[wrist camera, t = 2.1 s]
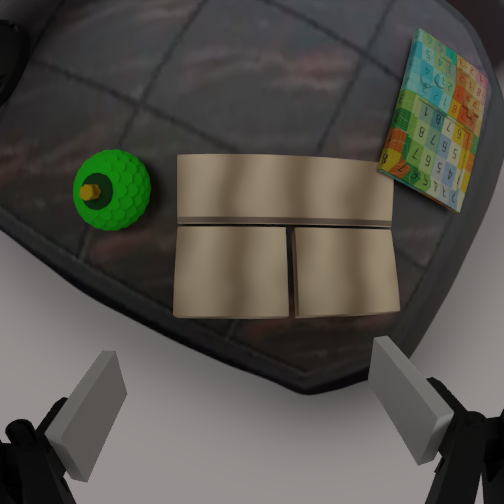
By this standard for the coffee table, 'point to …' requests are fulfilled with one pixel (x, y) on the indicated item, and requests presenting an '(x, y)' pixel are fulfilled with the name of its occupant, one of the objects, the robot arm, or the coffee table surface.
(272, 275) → the plank
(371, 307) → the plank
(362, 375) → the coffee table surface
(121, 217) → the ornament
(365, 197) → the laid board
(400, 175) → the puzzle game
